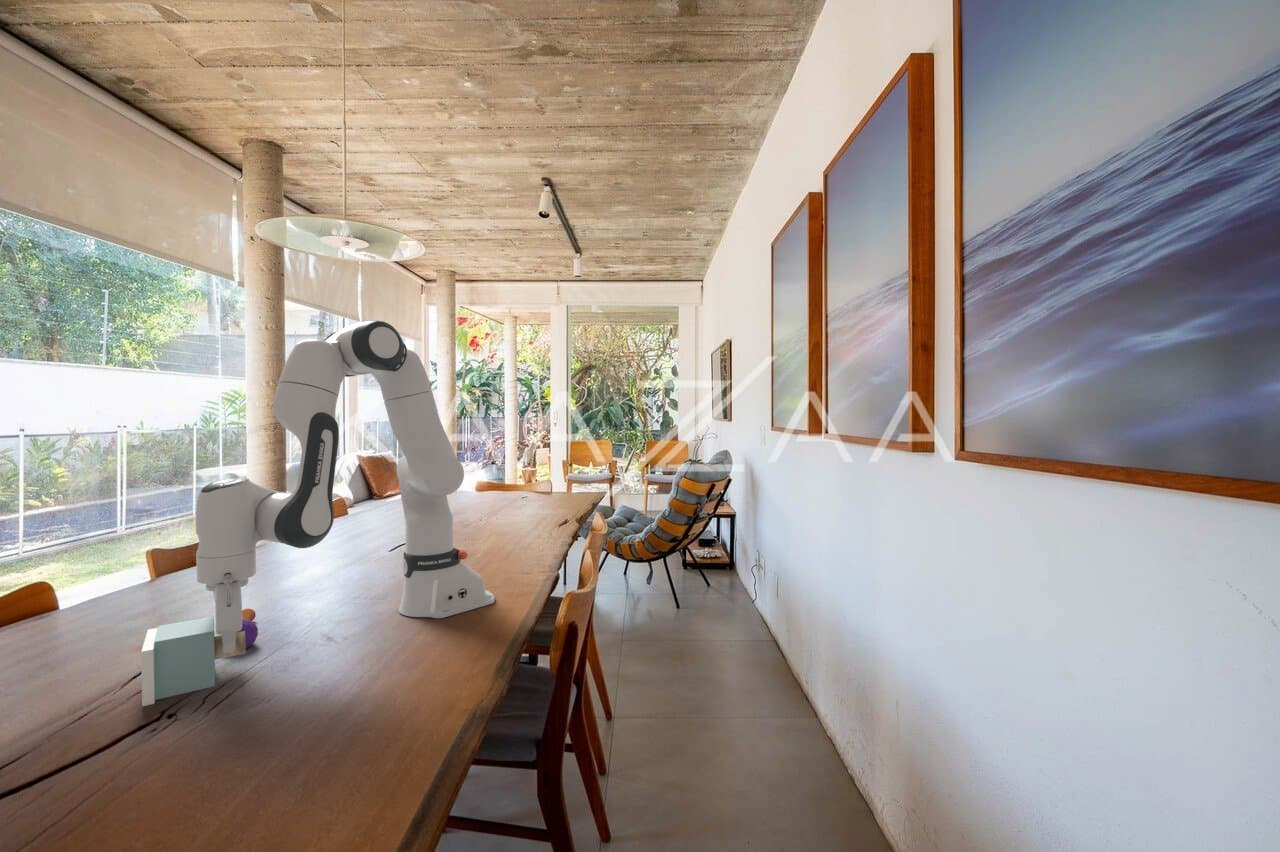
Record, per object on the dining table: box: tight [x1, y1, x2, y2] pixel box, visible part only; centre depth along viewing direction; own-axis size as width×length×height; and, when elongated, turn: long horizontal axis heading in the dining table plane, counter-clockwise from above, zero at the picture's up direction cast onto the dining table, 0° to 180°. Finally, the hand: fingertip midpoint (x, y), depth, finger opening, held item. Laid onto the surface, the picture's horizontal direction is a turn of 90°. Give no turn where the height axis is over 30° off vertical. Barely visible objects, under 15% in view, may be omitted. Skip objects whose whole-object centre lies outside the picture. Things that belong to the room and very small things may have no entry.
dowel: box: [214, 631, 247, 660], centre depth 103 cm, size 10×4×4 cm, turn 127°
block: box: [154, 616, 216, 701], centre depth 100 cm, size 8×9×10 cm
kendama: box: [236, 608, 259, 649], centre depth 122 cm, size 6×6×20 cm
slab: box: [140, 627, 158, 707], centre depth 98 cm, size 2×12×9 cm, turn 37°
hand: (228, 642), depth 104 cm, fingers open, 8 cm apart
